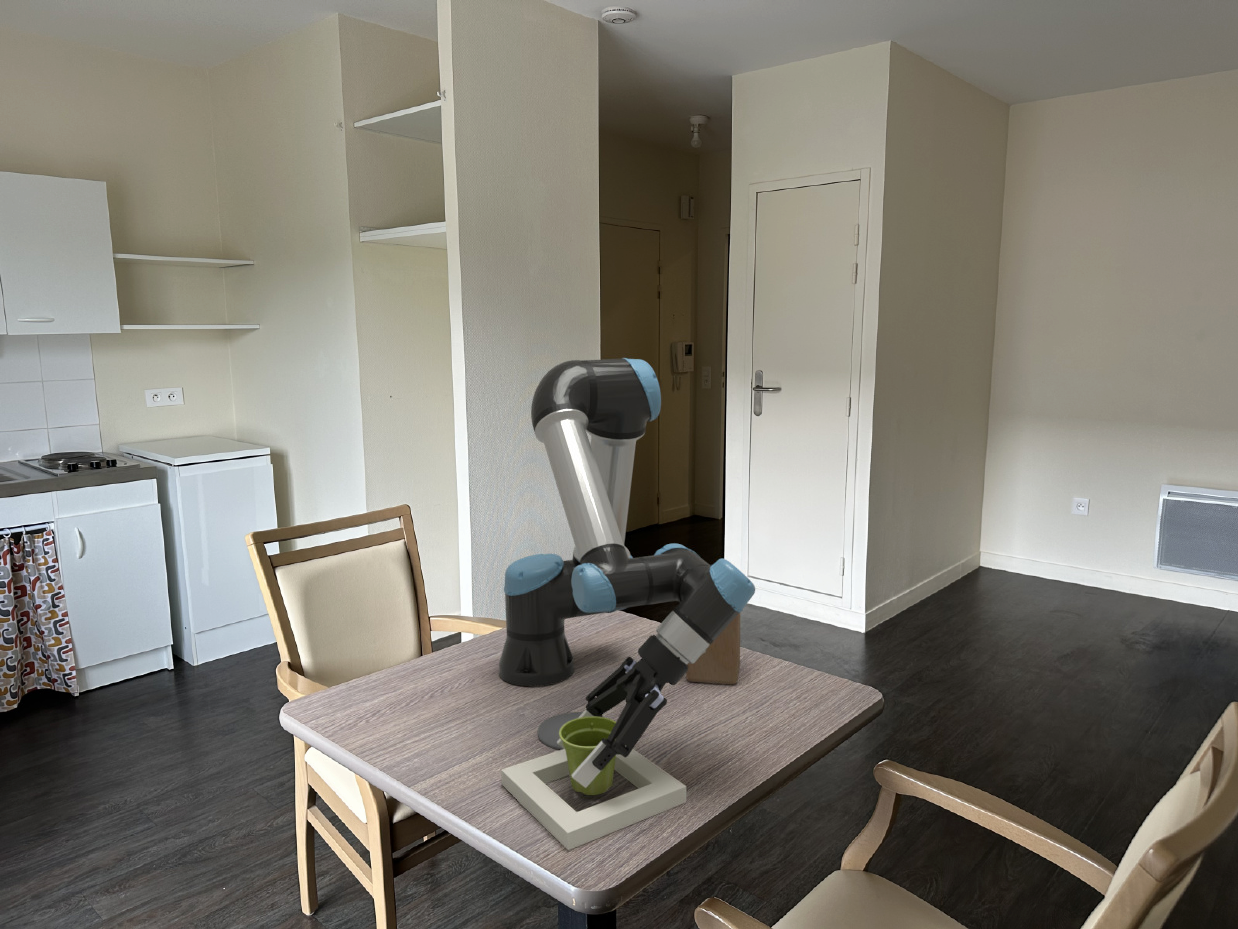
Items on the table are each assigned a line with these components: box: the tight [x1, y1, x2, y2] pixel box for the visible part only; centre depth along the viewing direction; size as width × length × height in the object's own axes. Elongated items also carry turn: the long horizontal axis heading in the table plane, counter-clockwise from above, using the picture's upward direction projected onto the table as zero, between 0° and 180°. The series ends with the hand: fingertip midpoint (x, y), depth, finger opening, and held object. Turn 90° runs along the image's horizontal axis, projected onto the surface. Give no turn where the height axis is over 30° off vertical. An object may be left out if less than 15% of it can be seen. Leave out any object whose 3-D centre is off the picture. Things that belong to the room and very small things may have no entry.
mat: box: [537, 711, 584, 751], centre depth 145 cm, size 13×13×1 cm
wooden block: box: [685, 612, 741, 685], centre depth 167 cm, size 10×10×20 cm
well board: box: [500, 745, 687, 851], centre depth 126 cm, size 20×20×2 cm
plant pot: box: [559, 716, 617, 796], centre depth 125 cm, size 9×9×9 cm
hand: (570, 764), depth 124 cm, fingers closed on plant pot, 9 cm apart
